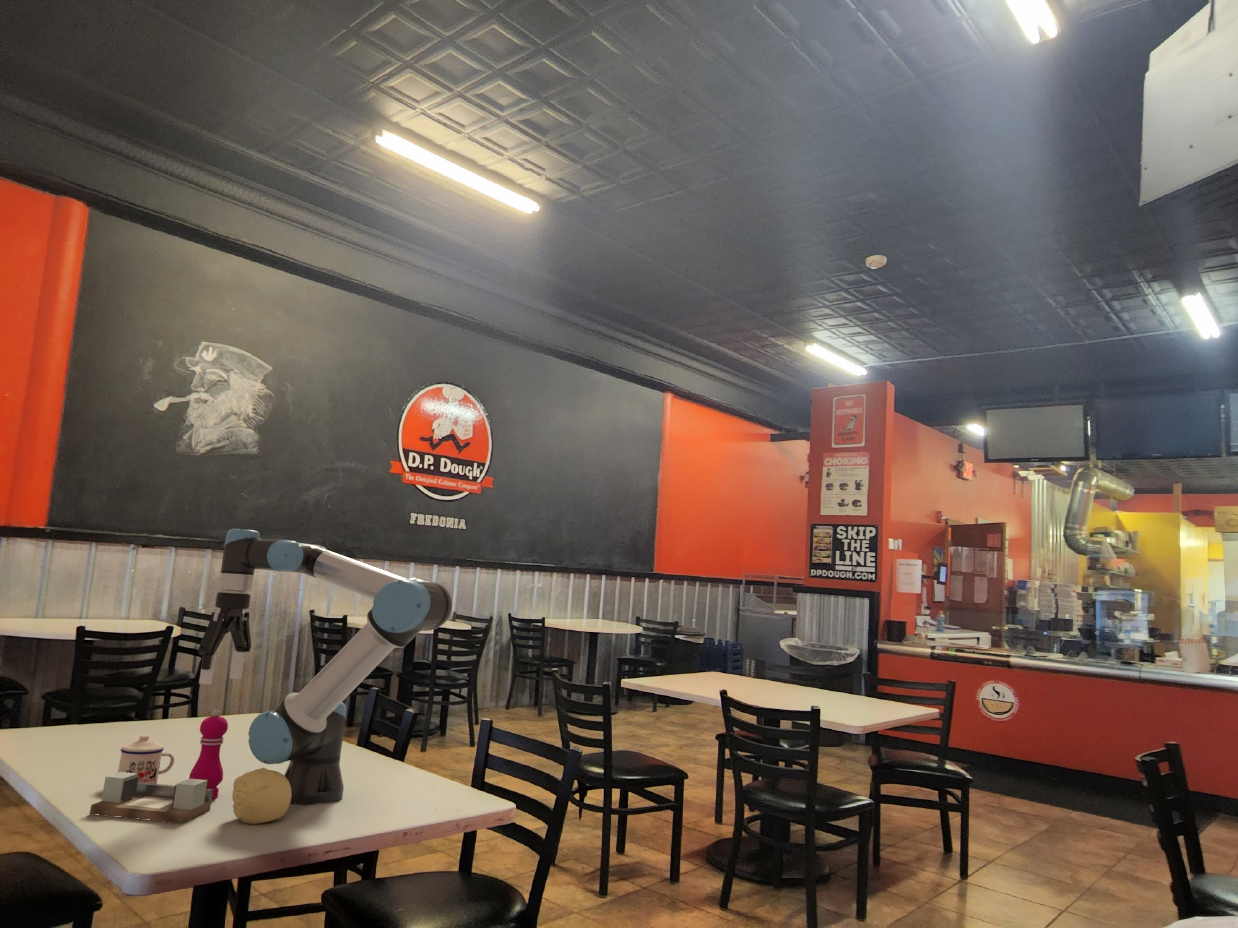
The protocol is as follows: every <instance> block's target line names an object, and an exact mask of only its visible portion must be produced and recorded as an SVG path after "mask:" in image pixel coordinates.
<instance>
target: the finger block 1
mask: <svg viewBox="0 0 1238 928" xmlns="http://www.w3.org/2000/svg"><path fill="white" fill-rule="evenodd" d="M137 776H138V774H137V773H127V772H119V773H118V772H117V773H113V774H110V775H107V776H105V778H104V784H103V789H102V794H101V801H106V802H116V803H120V802H123V801H125V800H128V799H131V798H133V797H134V796H136V790H137V784H138V778H139V777H137Z"/></svg>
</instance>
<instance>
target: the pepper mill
mask: <svg viewBox="0 0 1238 928" xmlns="http://www.w3.org/2000/svg"><path fill="white" fill-rule="evenodd" d="M228 729H229V723H228V721H227V719H226V718H224V717H223V716H221V711H220V709H214V710H213V711H212V713H211V716H208V717H205V718H204V719H203V720H202V722H201V723H200V727H199V733H200V734H201V735H202V736H201V737H200V741H199V744H200V745H201V747H200V753H199V756H198V759H197V760H196V762H195V764H194V766H193V767H192V769H191V771H190V772H189V778H188V779H200V780H207V787H206V789H213V794H212V800H214V799H217V798H218V797H219V791H220V789H219V787H218V786H219V785H220V784H221V783H222V782H223V779H224V770H223V767H222V763H221V758H220V757H221V756H220V754H221V753H220V752H221V746H222V745H223V744H224V739H225V738H224V737H223V736H224V735H225V734H226V733H227V732H228Z"/></svg>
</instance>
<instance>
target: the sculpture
mask: <svg viewBox="0 0 1238 928" xmlns="http://www.w3.org/2000/svg"><path fill="white" fill-rule="evenodd" d="M232 788H233V790H232V797H231V798H232V801H233V805H232V808H233V813H234V816H236V819H239V820H240V821H241V822H242V823H244V824H250V825H257V824H264V823H268V822H272V821H275V820H279V819H281V818H282V817H284V815H285V814H286V813H287V811H288V809H289V807H290V804H291V803H290V802H291V796H292V792H291V786H290V783H289V781H288V779H287V778H286V777H285V776H284V774H283V773H282V772H280V771H277V770H272V769H270V770H269V769H268V768H265V767H260V768H258V769H253V770H251V771H248V772H246V773H243V774H242V775H240V776H238V777H235V780H234V781H233V787H232Z"/></svg>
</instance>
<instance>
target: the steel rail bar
mask: <svg viewBox="0 0 1238 928" xmlns="http://www.w3.org/2000/svg"><path fill="white" fill-rule="evenodd" d="M174 789H175V785H174V784H173V785H171V784H161V783H157V784H152V783H142V782H138V784H137V790H136V795H143V796H153V797H163V798H173V795H174ZM212 794H213V789H206V793H205V800H204V802H209V801H211V802H212V800H213V799H212Z"/></svg>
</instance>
